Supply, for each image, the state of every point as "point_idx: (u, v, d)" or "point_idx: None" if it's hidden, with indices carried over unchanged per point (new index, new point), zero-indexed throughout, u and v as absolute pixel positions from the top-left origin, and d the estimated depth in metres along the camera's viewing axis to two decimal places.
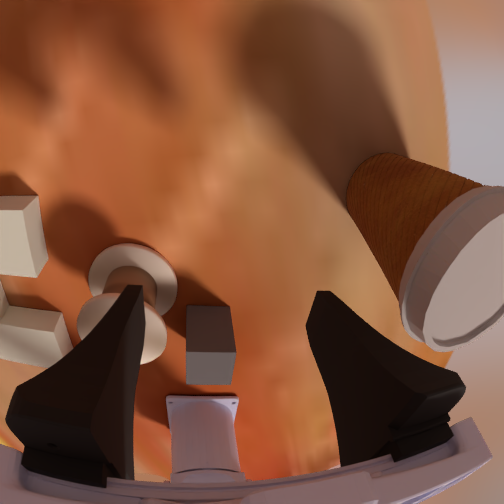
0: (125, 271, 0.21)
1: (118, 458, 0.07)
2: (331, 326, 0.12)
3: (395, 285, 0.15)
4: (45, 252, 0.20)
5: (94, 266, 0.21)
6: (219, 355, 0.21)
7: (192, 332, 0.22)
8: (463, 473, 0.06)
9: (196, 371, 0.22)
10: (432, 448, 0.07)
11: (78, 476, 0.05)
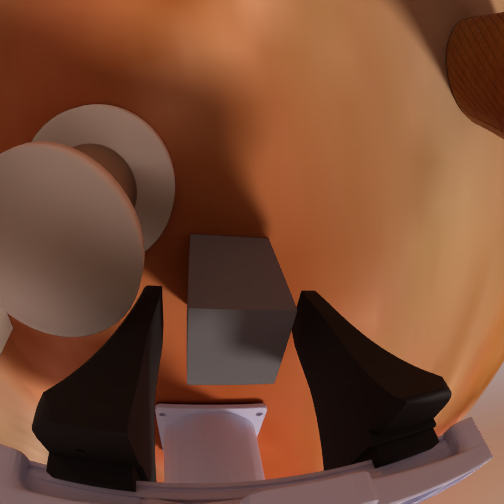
0: (78, 147, 0.10)
1: (145, 461, 0.07)
2: (315, 327, 0.11)
3: None
4: None
5: None
6: (261, 318, 0.10)
7: (201, 273, 0.11)
8: (463, 473, 0.06)
9: (208, 356, 0.11)
10: (416, 454, 0.07)
11: (107, 481, 0.05)
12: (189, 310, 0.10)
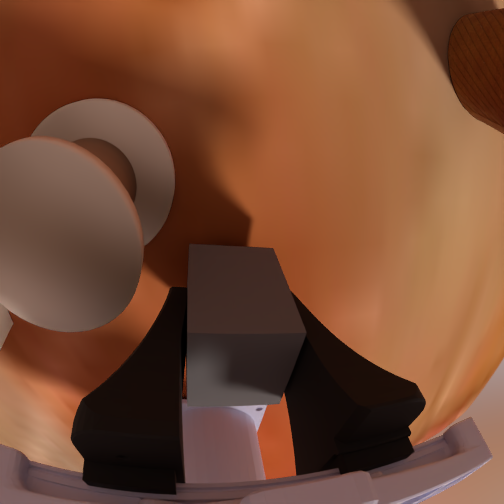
0: (78, 142, 0.10)
1: None
2: None
3: None
4: None
5: None
6: (267, 341, 0.09)
7: (202, 291, 0.10)
8: (463, 473, 0.06)
9: (210, 380, 0.10)
10: (388, 464, 0.07)
11: (147, 486, 0.06)
12: (188, 335, 0.09)
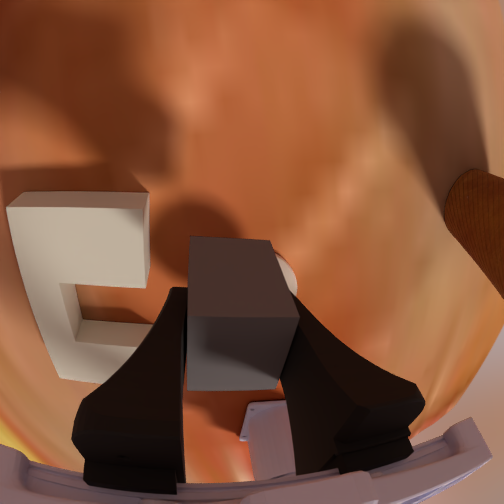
0: None
1: (183, 463, 0.07)
2: None
3: None
4: (149, 258, 0.20)
5: None
6: (263, 325, 0.10)
7: (201, 278, 0.11)
8: (463, 473, 0.06)
9: (209, 363, 0.10)
10: (388, 464, 0.07)
11: (148, 486, 0.06)
12: (188, 318, 0.09)
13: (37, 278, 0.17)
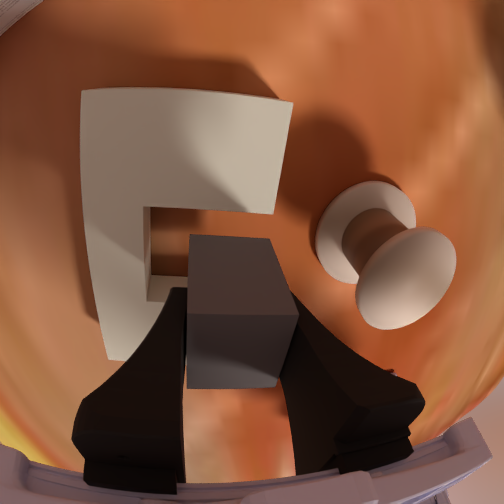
0: (383, 213, 0.17)
1: (183, 463, 0.07)
2: None
3: None
4: None
5: (338, 207, 0.17)
6: (262, 323, 0.10)
7: (201, 276, 0.11)
8: (463, 473, 0.06)
9: (208, 361, 0.11)
10: (388, 464, 0.07)
11: (148, 486, 0.06)
12: (188, 315, 0.09)
13: (108, 201, 0.13)
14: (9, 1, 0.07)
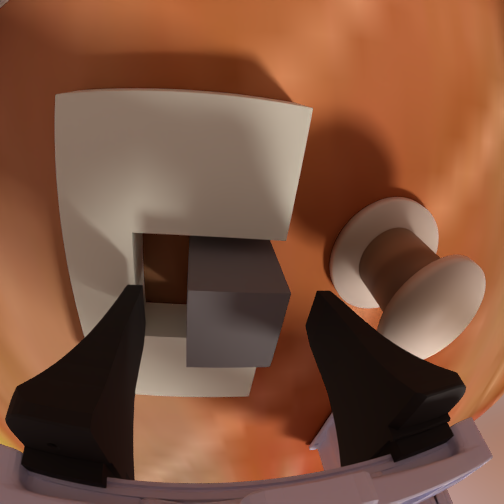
0: (406, 234, 0.15)
1: (118, 458, 0.07)
2: (331, 326, 0.12)
3: None
4: None
5: (357, 228, 0.15)
6: (256, 301, 0.11)
7: (201, 259, 0.12)
8: (463, 473, 0.06)
9: (207, 339, 0.11)
10: (431, 448, 0.07)
11: (78, 476, 0.05)
12: (188, 292, 0.10)
13: (91, 226, 0.11)
14: None
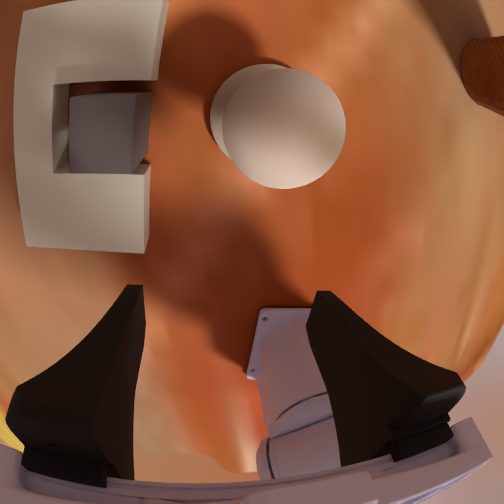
0: None
1: (118, 458, 0.07)
2: (331, 326, 0.12)
3: None
4: (158, 68, 0.16)
5: (226, 85, 0.17)
6: (112, 102, 0.13)
7: (90, 94, 0.14)
8: (463, 473, 0.06)
9: (81, 140, 0.13)
10: (431, 448, 0.07)
11: (78, 476, 0.05)
12: (70, 99, 0.12)
13: (31, 84, 0.13)
14: None
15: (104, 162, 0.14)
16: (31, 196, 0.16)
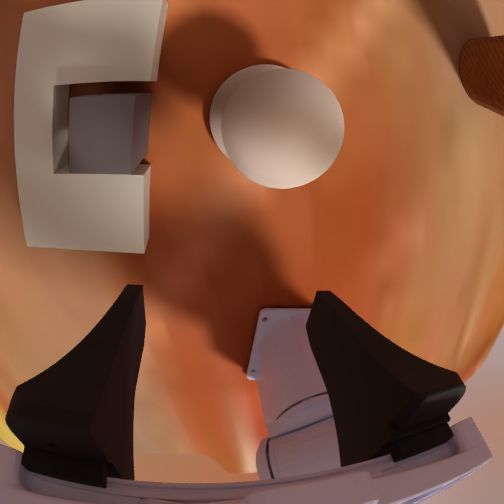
0: None
1: (118, 458, 0.07)
2: (331, 326, 0.12)
3: None
4: (157, 69, 0.16)
5: (225, 86, 0.17)
6: (112, 103, 0.13)
7: (90, 95, 0.14)
8: (463, 473, 0.06)
9: (81, 141, 0.13)
10: (431, 448, 0.07)
11: (78, 476, 0.05)
12: (70, 99, 0.12)
13: (31, 85, 0.13)
14: None
15: (104, 162, 0.14)
16: (31, 196, 0.16)
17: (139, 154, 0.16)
